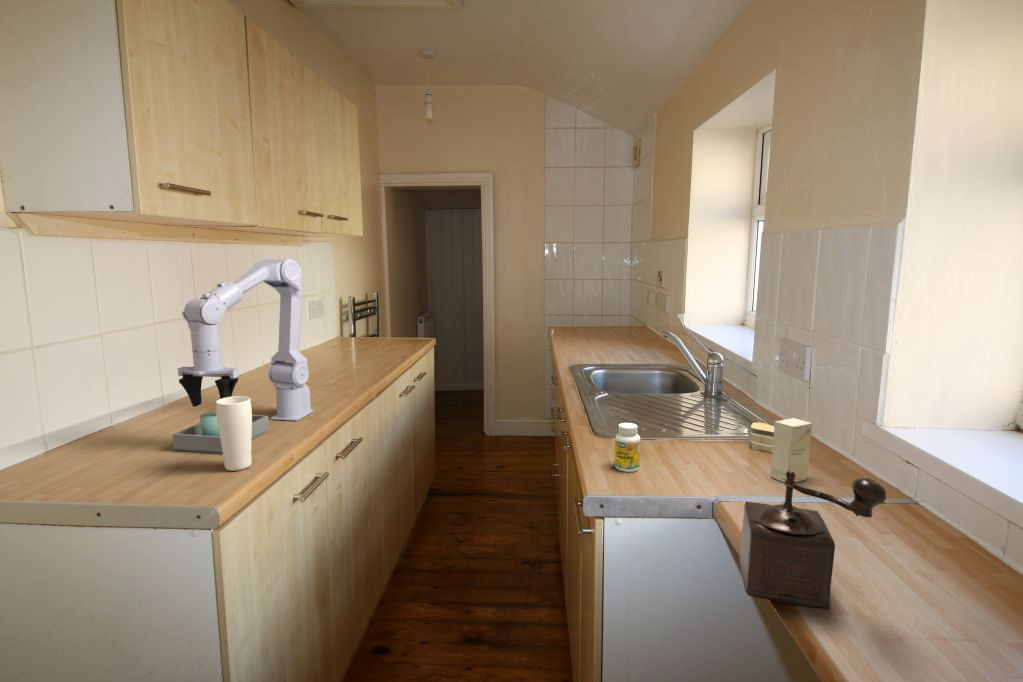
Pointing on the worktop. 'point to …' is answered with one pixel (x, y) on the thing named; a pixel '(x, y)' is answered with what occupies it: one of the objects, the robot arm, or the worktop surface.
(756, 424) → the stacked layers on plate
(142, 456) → the worktop surface
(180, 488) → the worktop surface
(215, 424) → the teal cylinder
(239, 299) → the robot arm
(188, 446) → the tray
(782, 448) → the skincare box
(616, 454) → the supplement bottle
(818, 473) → the worktop surface
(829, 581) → the manual coffee grinder
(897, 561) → the worktop surface
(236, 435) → the drinking glass
